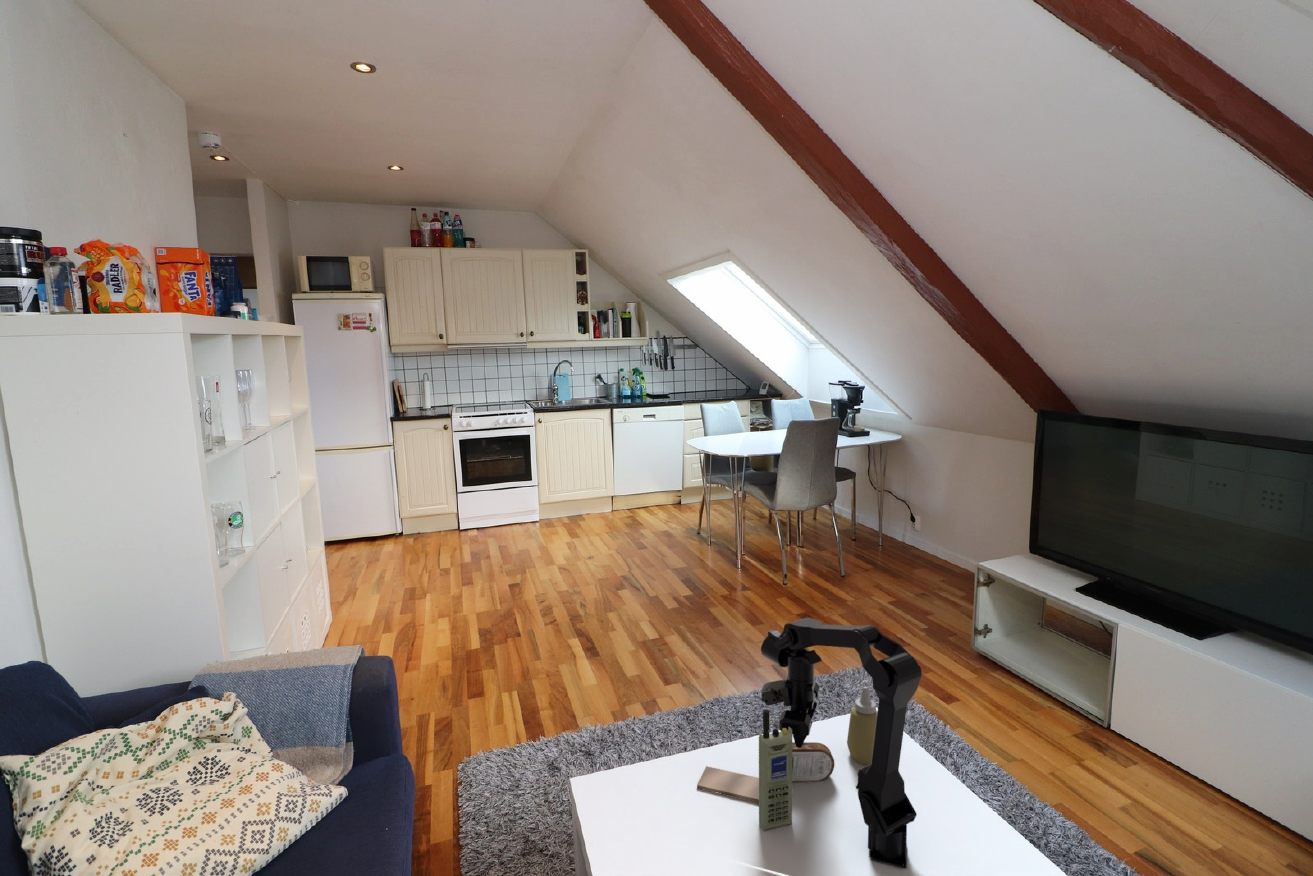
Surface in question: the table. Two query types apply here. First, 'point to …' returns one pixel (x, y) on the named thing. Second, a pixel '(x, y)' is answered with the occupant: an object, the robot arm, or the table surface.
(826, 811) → the table surface
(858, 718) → the squeeze bottle
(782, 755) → the handheld radio
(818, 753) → the tin
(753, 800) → the walnut board
